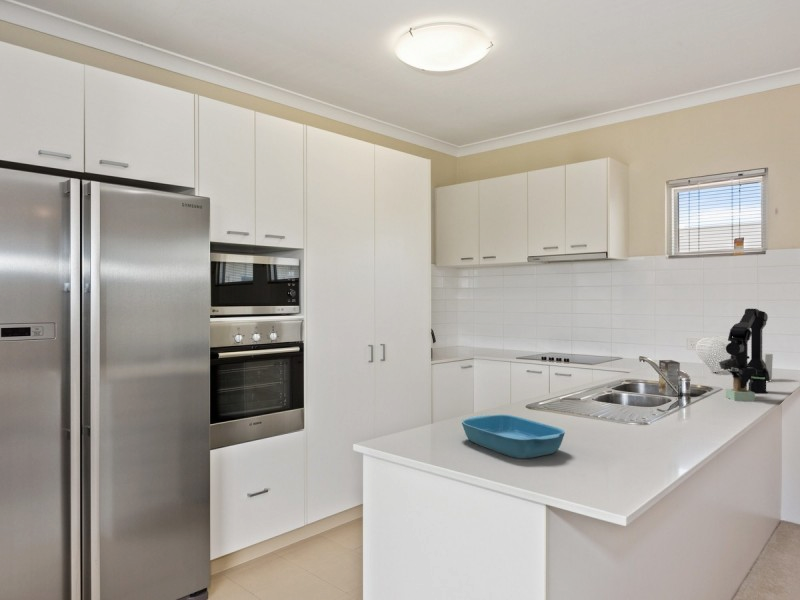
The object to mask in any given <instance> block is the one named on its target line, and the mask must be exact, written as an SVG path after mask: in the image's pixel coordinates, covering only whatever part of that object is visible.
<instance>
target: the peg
mask: <svg viewBox="0 0 800 600" xmlns="http://www.w3.org/2000/svg"><path fill="white" fill-rule="evenodd" d="M732 378H733V381H732V382H733V388H732V389H733V391H736V392H747V390H748V383H747V384H746V386H745V388H744V389H742V388H741V383H740V377H733V376H732Z"/></svg>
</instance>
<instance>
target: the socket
mask: <svg viewBox="0 0 800 600" xmlns="http://www.w3.org/2000/svg"><path fill="white" fill-rule="evenodd" d="M726 397H727V398H726ZM755 397H756V393H755V392H752V391H749V389H747V392H736V391H733V388H726V389H725V398H726V399H728V398H730V399H729V400H731V399H732V400H731V401H733V400H735V401H734V402H755V399H756V398H755Z"/></svg>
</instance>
